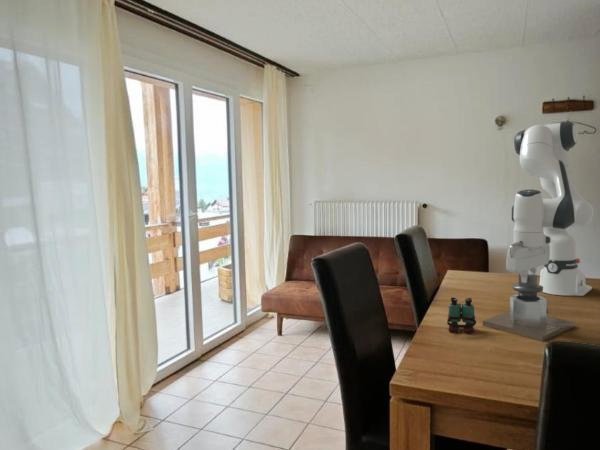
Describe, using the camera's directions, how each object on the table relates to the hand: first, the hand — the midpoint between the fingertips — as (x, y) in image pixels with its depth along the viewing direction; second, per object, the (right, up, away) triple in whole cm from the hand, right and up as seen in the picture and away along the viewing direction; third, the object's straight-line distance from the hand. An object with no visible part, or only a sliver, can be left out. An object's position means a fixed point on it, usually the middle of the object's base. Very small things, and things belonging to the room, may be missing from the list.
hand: (527, 281), depth 147 cm
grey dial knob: (0, -5, +1) cm, 5 cm away
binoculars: (-22, -17, 0) cm, 27 cm away
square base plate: (+1, -15, +2) cm, 15 cm away
